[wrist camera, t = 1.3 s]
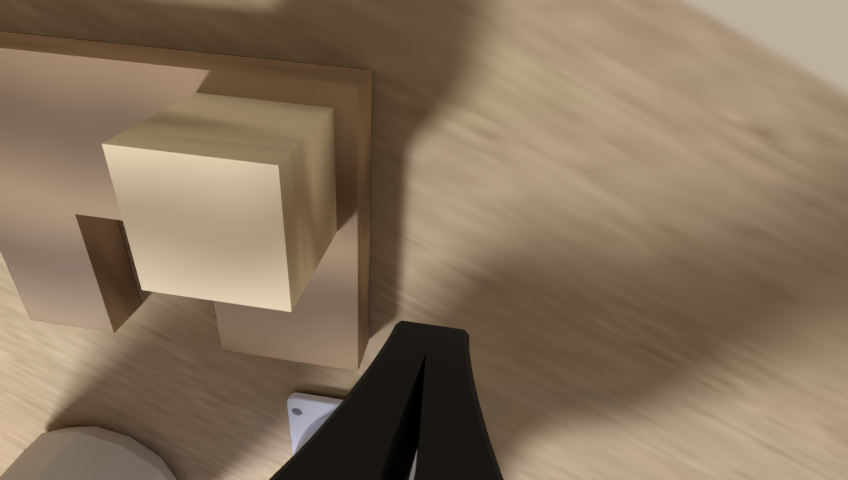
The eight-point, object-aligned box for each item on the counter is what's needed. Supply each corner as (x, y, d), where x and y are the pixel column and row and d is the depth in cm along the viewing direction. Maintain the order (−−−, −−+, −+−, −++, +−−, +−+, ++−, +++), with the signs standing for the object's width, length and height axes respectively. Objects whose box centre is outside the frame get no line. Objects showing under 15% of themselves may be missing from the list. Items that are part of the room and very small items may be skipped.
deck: (369, 339, 24) (345, 408, 20) (-106, 267, 26) (-199, 319, 23) (372, 69, 18) (338, 106, 14) (-257, 4, 20) (-416, 22, 16)
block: (336, 232, 19) (291, 312, 15) (216, 215, 19) (141, 289, 15) (333, 107, 16) (278, 165, 12) (195, 92, 17) (101, 143, 13)
